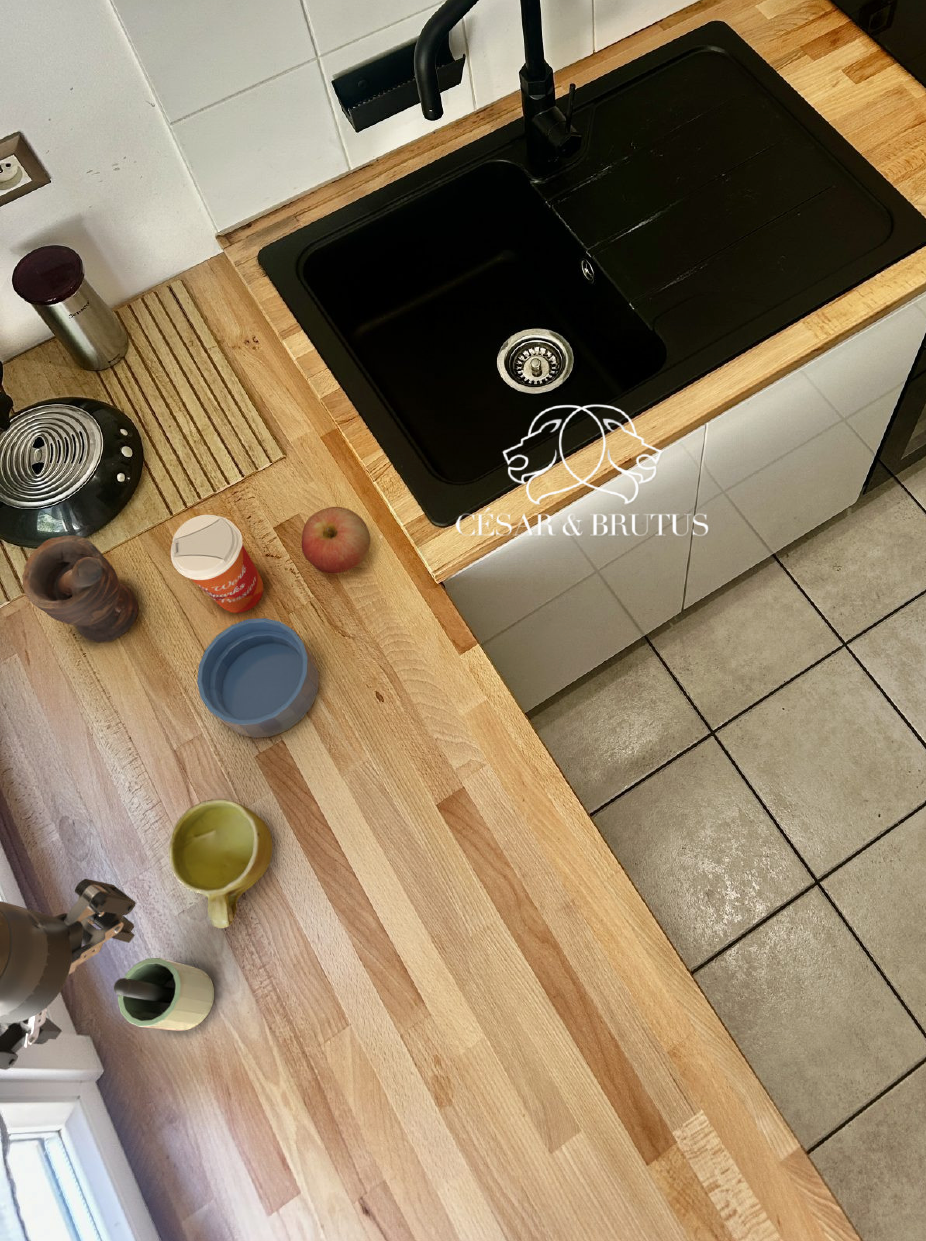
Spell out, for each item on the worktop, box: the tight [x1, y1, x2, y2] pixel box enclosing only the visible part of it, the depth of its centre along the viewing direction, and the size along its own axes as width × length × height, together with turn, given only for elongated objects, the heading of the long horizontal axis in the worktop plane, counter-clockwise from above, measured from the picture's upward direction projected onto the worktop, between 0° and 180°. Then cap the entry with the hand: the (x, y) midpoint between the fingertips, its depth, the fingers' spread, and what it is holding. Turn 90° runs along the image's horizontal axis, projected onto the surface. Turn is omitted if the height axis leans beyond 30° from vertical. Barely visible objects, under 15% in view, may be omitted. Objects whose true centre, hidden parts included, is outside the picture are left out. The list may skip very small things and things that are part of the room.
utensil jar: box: [117, 957, 215, 1032], centre depth 111 cm, size 6×6×10 cm
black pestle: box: [113, 977, 176, 1013], centre depth 108 cm, size 4×4×17 cm
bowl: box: [196, 617, 320, 739], centre depth 128 cm, size 12×12×6 cm
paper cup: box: [170, 514, 264, 614], centre depth 130 cm, size 8×8×14 cm
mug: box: [167, 798, 273, 929], centre depth 118 cm, size 12×10×10 cm
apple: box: [301, 506, 372, 575], centre depth 135 cm, size 8×8×8 cm
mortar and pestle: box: [21, 535, 139, 643], centre depth 127 cm, size 12×9×20 cm
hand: (88, 979), depth 94 cm, fingers open, 8 cm apart
